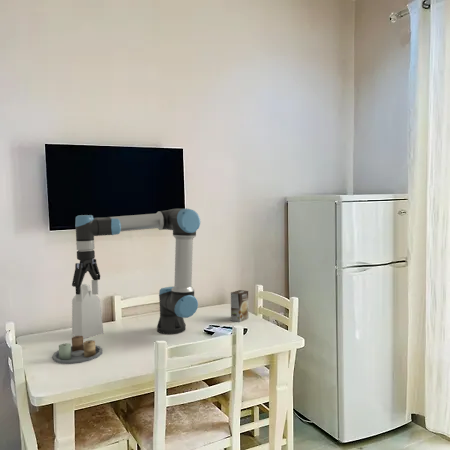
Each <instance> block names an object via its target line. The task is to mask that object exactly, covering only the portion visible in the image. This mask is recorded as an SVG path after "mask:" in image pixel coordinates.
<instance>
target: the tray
mask: <svg viewBox="0 0 450 450" xmlns="http://www.w3.org/2000/svg"><path fill="white" fill-rule="evenodd" d="M83 346H84V344H83ZM95 348H96V355H94V356H91V357H84V350H78V351H74V352H73V351H72V345H71V359H70V360H61V359H59V349H58V350H57V351H55V352H53V354H52V356H51V357H52V361H54V363H58V364H61V365H72V364H74V365H75V364H82V363H86V362H91V361H93V360H95V359H98V358H99V357H100V356H101V355H102V354H103V348H102V347H101V346H100V345H97V344H95Z"/></svg>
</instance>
